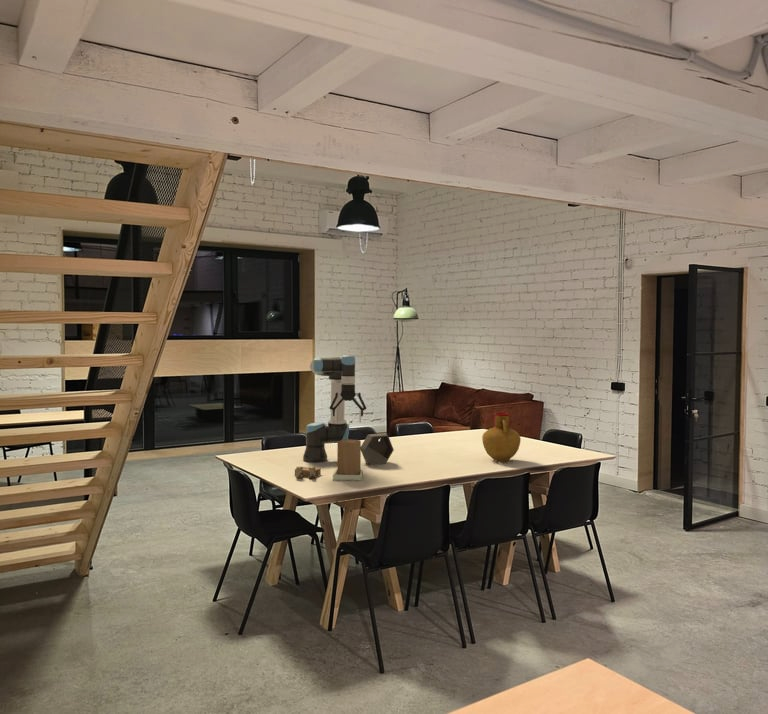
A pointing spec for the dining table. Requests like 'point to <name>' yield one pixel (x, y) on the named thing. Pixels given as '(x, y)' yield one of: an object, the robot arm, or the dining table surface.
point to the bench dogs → (300, 472)
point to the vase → (501, 439)
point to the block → (349, 457)
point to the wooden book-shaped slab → (306, 472)
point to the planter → (376, 449)
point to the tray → (347, 476)
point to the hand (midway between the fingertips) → (347, 422)
